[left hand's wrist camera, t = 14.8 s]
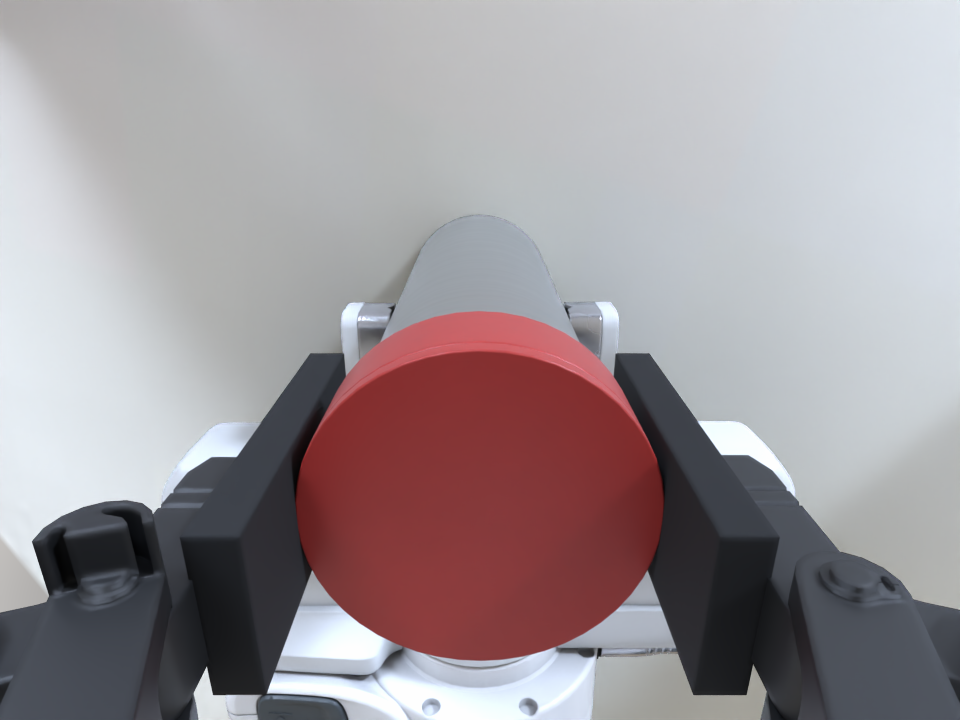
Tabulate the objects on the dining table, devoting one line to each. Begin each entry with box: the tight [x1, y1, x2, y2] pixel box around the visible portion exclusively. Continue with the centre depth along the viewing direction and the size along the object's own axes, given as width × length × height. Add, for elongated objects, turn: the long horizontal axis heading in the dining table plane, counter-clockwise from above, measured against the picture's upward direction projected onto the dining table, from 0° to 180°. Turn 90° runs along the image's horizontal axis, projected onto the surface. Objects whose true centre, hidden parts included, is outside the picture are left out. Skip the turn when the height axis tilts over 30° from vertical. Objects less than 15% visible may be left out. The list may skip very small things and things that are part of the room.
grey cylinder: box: [381, 215, 579, 342], centre depth 18 cm, size 5×5×16 cm
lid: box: [295, 311, 664, 661], centre depth 11 cm, size 6×6×2 cm
